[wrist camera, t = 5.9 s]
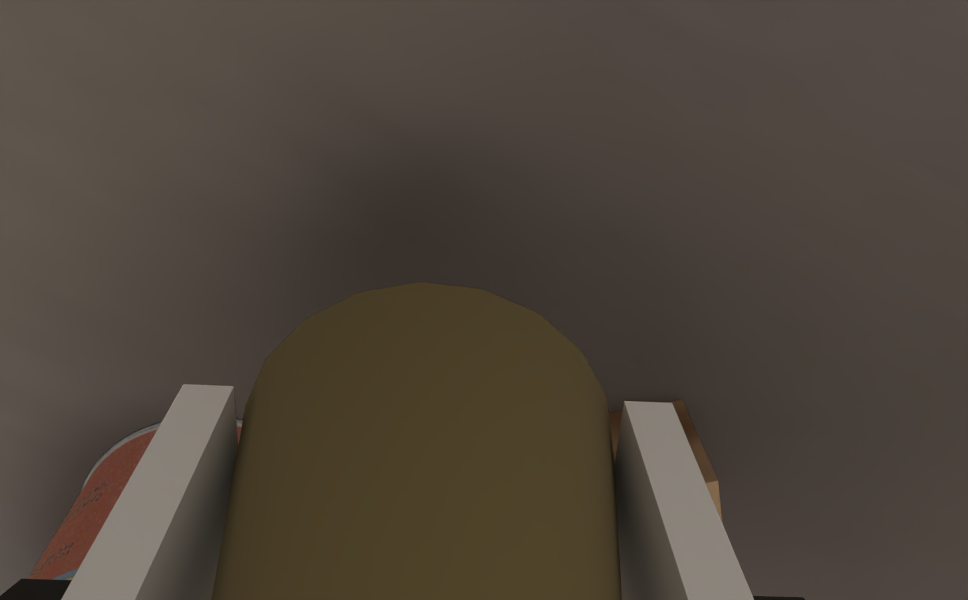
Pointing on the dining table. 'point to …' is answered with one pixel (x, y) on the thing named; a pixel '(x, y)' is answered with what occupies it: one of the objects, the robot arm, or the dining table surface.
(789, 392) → the dining table surface
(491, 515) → the cork
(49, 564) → the canned food
